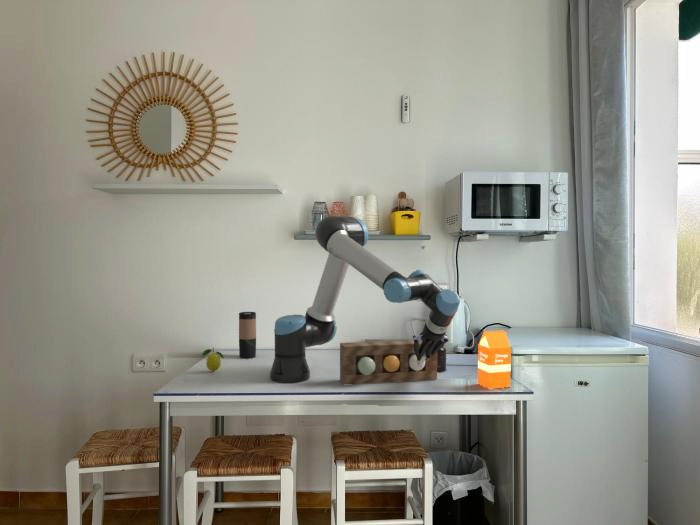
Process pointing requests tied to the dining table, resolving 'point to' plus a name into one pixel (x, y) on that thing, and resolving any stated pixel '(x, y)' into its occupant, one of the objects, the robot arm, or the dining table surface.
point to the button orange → (390, 362)
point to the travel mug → (247, 335)
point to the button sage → (366, 365)
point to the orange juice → (494, 360)
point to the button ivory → (414, 362)
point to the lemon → (213, 359)
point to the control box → (376, 352)
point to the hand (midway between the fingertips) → (419, 363)
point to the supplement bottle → (441, 359)
